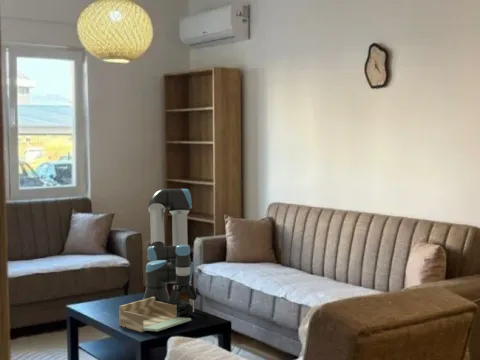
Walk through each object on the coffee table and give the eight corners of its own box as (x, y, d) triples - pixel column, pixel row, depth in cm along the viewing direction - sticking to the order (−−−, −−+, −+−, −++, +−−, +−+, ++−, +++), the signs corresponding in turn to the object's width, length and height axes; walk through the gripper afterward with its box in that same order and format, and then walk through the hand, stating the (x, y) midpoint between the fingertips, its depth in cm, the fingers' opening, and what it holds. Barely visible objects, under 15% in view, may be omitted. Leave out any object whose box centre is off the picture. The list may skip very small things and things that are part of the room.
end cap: (193, 316, 343) (193, 303, 343) (180, 317, 340) (180, 305, 340) (185, 311, 352) (185, 299, 352) (173, 313, 349) (173, 300, 348)
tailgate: (176, 317, 334) (191, 318, 327) (176, 319, 334) (191, 320, 327) (142, 328, 315) (157, 329, 309) (142, 330, 315) (157, 331, 309)
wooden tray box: (154, 315, 344) (153, 296, 343) (176, 320, 334) (176, 301, 333) (119, 325, 325) (119, 306, 324) (141, 332, 315) (141, 311, 314)
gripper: (193, 269, 357) (193, 308, 358) (161, 277, 337) (161, 318, 339) (203, 271, 352) (204, 310, 353) (171, 279, 333) (171, 320, 334)
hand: (183, 314), depth 346 cm, fingers open, 13 cm apart
